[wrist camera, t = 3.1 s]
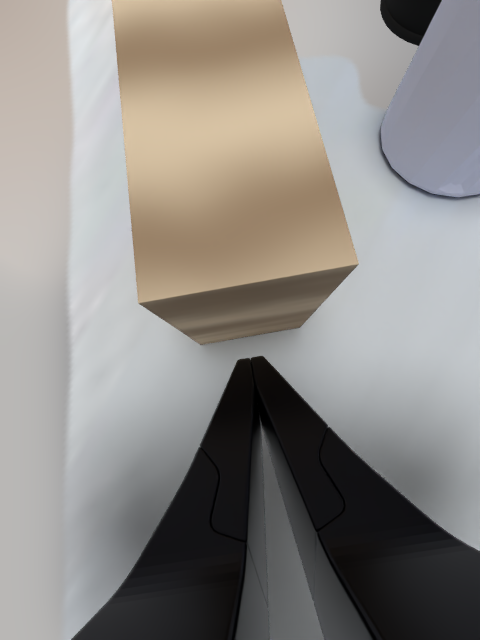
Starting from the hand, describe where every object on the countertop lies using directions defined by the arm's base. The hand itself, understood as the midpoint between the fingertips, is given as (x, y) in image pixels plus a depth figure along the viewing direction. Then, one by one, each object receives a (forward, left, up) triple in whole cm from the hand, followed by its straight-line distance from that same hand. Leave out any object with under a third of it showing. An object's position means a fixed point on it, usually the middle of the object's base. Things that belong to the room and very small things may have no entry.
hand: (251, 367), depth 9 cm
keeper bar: (+10, -3, -7) cm, 12 cm away
